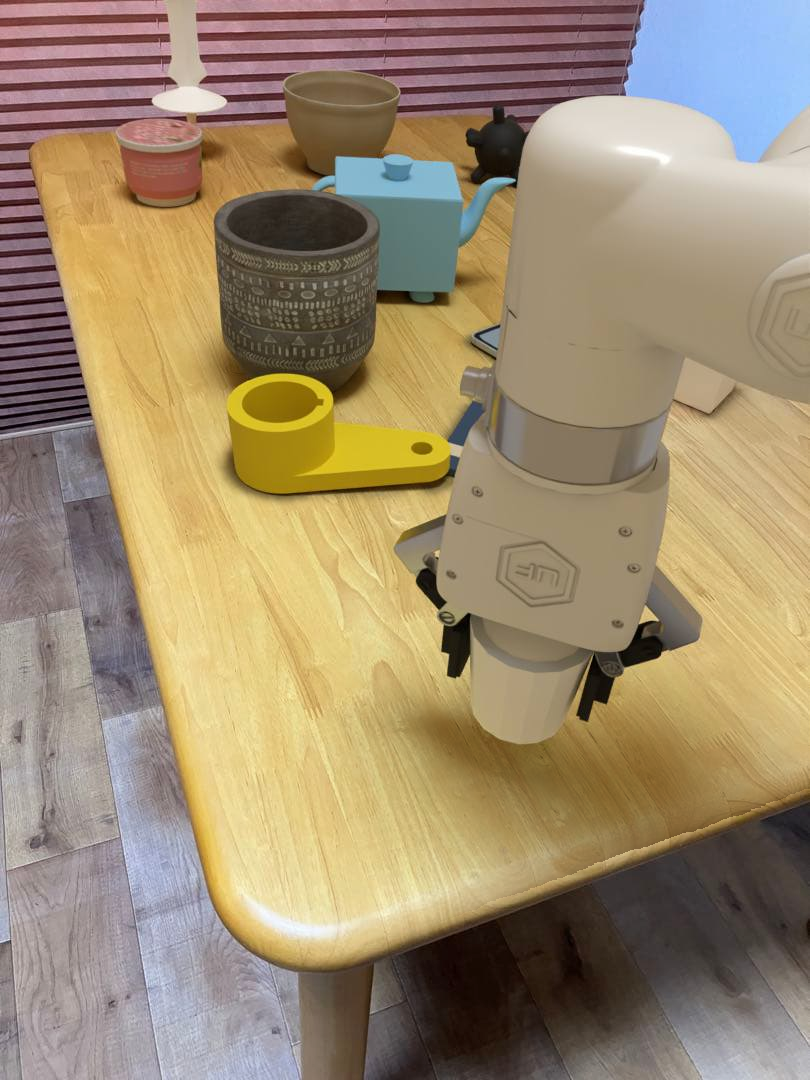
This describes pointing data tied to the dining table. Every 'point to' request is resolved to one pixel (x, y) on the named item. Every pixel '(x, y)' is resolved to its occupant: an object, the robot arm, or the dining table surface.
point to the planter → (297, 283)
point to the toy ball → (497, 146)
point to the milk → (702, 386)
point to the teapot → (413, 217)
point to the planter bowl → (339, 115)
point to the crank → (320, 442)
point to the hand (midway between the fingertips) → (523, 679)
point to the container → (161, 160)
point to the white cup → (522, 680)
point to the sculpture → (186, 66)
